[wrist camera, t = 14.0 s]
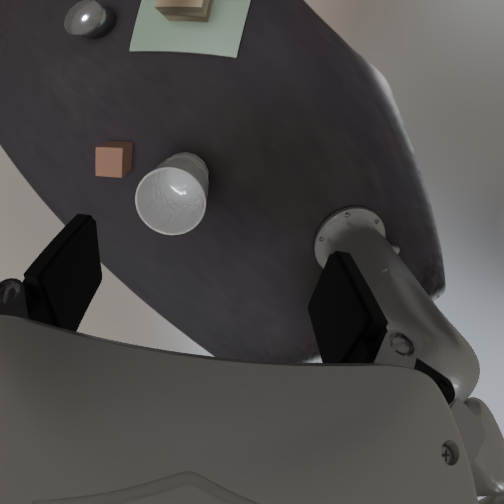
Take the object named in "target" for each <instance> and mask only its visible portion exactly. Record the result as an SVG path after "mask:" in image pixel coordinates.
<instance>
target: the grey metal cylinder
mask: <svg viewBox="0 0 504 504" xmlns="http://www.w3.org/2000/svg"><path fill="white" fill-rule="evenodd" d="M116 20H117V16H116V13H115V12H114V11H113V10H111V9H110V8H108V7H106V6H104V5H102V4H100V3H98V2H96V1H94V0H83V1H80V2H78V3H77V4H75V5H74V6H73V7H72V8H71V9H70V10H69V12H68V13H67V15H66V18H65V21H64V27H65V30H66V31H67V32H68V33H70V34H75V35H79V36H84V37H88V38H92V39H99V38H102V37H104V36H106V35H107V34H108V33H110V32H111V30H112V29H113V28H114V26H115V24H116Z"/></svg>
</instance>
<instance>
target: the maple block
mask: <svg viewBox="0 0 504 504" xmlns="http://www.w3.org/2000/svg"><path fill="white" fill-rule="evenodd" d="M213 1H214V0H156V2H155V6H154V7H155V8H156V9H157V10H158V11H159V12H160V13H161V14H162V15H163V16H164V17H165V18H166V19H167V20H169V21H190V22H207V23H208V21H209V17H210V13H211V9H212V5H213Z"/></svg>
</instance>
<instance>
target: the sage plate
mask: <svg viewBox="0 0 504 504" xmlns="http://www.w3.org/2000/svg"><path fill="white" fill-rule="evenodd" d="M155 2H156V0H142V1H141V5H140V8H139V12H138V16H137V19H136V23H135V27H134V32H133V36H132V40H131V45H130V50H129V51H130V52H175V53H191V54H203V55H212V56H221V57H228V58H235V59H236V58H237V54H238V49H239V45H240V41H241V37H242V33H243V29H244V25H245V21H246V17H247V13H248V9H249V5H250V2H251V0H214V1H213V5H212V9H211V13H210V17H209V21H208V23H207V22H190V21H169V20H167V19H166V18H165V17H164V16H163V15H162V14H161V13H160V12H159V11H158V10H157V9H156V8H155V7H154V6H155Z"/></svg>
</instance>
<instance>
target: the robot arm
mask: <svg viewBox="0 0 504 504" xmlns="http://www.w3.org/2000/svg"><path fill="white" fill-rule="evenodd" d="M345 213H346V214H345ZM399 251H400V250H399V247H398V246H393V245H392V246H391V245H390V243H389V242H388V241H387V240H386V239H385V228H384V224H383V223H382V221H381V219H380V218H379V217H378V216H377V215H376V214H375V213H374V212H373V211H371V210H369V209H367V208H364V207H360V206H352V207H346V208H343V209H340V210H338V211H336V212H335V213H333V214H331V215H330V216H329V217H328V218H326V220H325V221H324V222H323V223H322V224H321V226H320V227H319V229H318V230H317V233H316V235H315V239H314V253H315V257H316V259H317V261H318V263H319V264H320V266H321V267H322V268H323V271H322V274H321V276H320V279H319V281H318V283H317V286H316V288H315V290H314V293H313V295H312V297H311V299H310V302H309V305H308V311H309V315H310V318H311V322H312V325H313V329H314V333H315V336H316V340H317V344H318V347H319V351H320V355H321V359H322V362H323V363H293V362H270V361H255V360H242V359H230V358H220V357H211V356H202V355H195V354H187V353H180V352H173V351H167V350H160V349H154V348H149V347H143V346H138V345H132V344H127V343H122V342H117V341H113V340H108V339H103V338H99V337H95V336H91V335H87V334H83V333H78V332H76V331H77V329H78V327H79V324H80V322H81V320H82V318H83V316H84V314H85V312H86V310H87V308H88V306H89V304H90V302H91V300H92V298H93V296H94V294H95V293H96V291H97V289H98V287H99V285H100V283H101V280H102V271H101V264H100V256H99V248H98V239H97V228H96V221H95V220H94V219H93V218H92V216H91V215H85V214H77V215H76V216H75V217H74V218H73V219H72V220H71V221H70V222H69V223H68V224H67V225H66V226H65V227H64V228H63V229H62V230H61V232H60V233H59V234H58V235H57V236H56V237H55V238H54V239H53V240H52V241H51V242H50V244H49V245H48V246H47V247H46V248H45V249H44V250H43V251H42V253H41V254H40V255H39V256H38V258H37V259H36V260H35V261H34V262H33V263H32V264H31V266H30V267H29V268H28V269H27V271H26V272H25V273H24V277H25V279H24V281H23V282H21V281H20V280H18V279H13V278H10V279H6V280H4V281H1V282H0V504H504V439H503V436H502V434H501V432H500V429H499V427H498V425H497V423H496V421H495V419H494V417H493V415H492V413H491V411H490V410H489V408H488V407H487V405H486V404H485V403H484V402H483V401H481V400H480V399H478V398H475V397H471V398H468V397H469V396H470V394H471V393H472V391H473V390H474V388H475V386H476V384H477V382H478V378H479V373H480V368H479V362H478V359H477V356H476V354H475V352H474V351H473V349H472V347H471V346H470V345H469V343H468V342H467V341H466V340H465V338H464V337H463V336H462V335H461V334H460V333H459V332H458V331H457V330H456V328H455V327H454V326H453V325H452V324H451V323H450V322H449V321H448V320H447V318H446V317H445V316H444V315H443V314H442V313H441V312H440V310H439V309H438V308H437V306H436V305H435V304H434V302H433V301H432V300H431V298H430V297H429V296H428V294H427V293H426V292H425V290H424V289H423V288H422V286H421V285H420V283H419V282H418V281H417V279H416V278H415V277H414V275H413V274H412V273H411V271H410V270H409V269H408V267H407V266H406V265H405V264H404V262H403V261H402V260H401V258H400V257H399V256H398V255H397V254H398V253H399ZM479 496H486V497H484V498H483V499H481V500H479V501H478V499H477V497H479Z"/></svg>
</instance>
